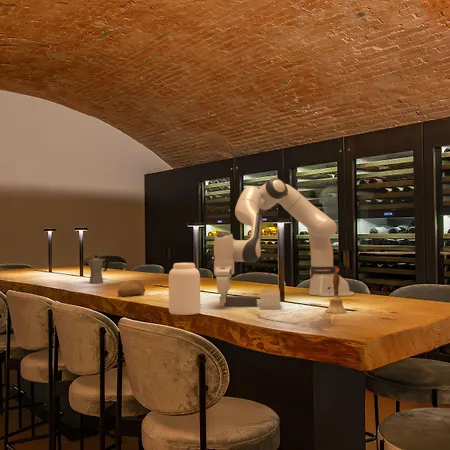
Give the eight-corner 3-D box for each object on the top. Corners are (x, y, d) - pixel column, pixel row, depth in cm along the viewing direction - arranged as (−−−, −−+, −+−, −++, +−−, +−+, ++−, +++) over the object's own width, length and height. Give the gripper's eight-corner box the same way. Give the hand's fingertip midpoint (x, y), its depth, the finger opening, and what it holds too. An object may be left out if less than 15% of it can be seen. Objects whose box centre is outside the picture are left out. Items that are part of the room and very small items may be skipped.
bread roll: (149, 295, 267) (149, 279, 267) (122, 298, 258) (122, 281, 258) (140, 293, 275) (140, 278, 275) (114, 296, 266) (114, 280, 266)
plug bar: (257, 305, 226) (257, 296, 226) (256, 306, 222) (256, 297, 222) (220, 305, 227) (220, 296, 228) (219, 306, 223) (219, 297, 224)
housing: (279, 302, 233) (279, 289, 233) (280, 309, 213) (279, 295, 213) (261, 302, 234) (261, 289, 234) (260, 309, 214) (260, 295, 214)
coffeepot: (89, 284, 327) (88, 255, 327) (83, 283, 335) (83, 255, 335) (112, 282, 336) (111, 255, 336) (106, 281, 344) (106, 254, 344)
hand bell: (347, 311, 208) (347, 271, 208) (345, 314, 200) (345, 272, 200) (327, 310, 210) (326, 270, 211) (324, 313, 203) (323, 272, 203)
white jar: (188, 316, 198) (187, 264, 198) (162, 314, 205) (161, 263, 205) (206, 312, 209) (205, 262, 209) (181, 309, 215) (181, 261, 216)
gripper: (219, 268, 236) (219, 298, 236) (214, 271, 216) (214, 305, 216) (233, 268, 236) (233, 298, 235) (229, 271, 215) (229, 305, 215)
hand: (224, 301), depth 225 cm, fingers closed on plug bar, 4 cm apart
